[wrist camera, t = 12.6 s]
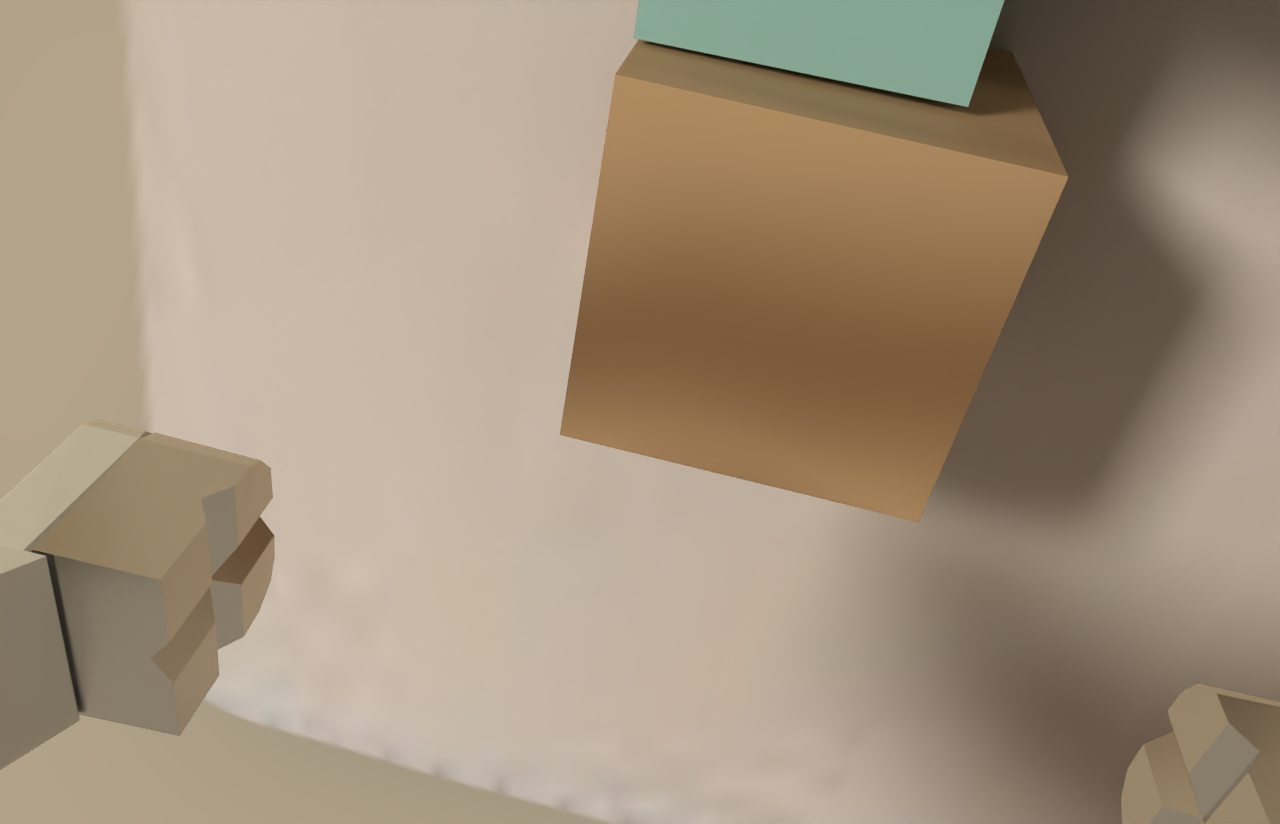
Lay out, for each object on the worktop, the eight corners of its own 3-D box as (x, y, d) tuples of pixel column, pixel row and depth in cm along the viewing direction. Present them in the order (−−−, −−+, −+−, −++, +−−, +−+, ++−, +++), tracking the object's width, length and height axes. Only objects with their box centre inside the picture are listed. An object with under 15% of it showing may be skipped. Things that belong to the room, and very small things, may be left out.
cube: (679, -22, 15) (615, 74, 11) (1011, 51, 15) (1067, 176, 11) (626, 273, 18) (559, 435, 14) (904, 338, 18) (918, 521, 14)
